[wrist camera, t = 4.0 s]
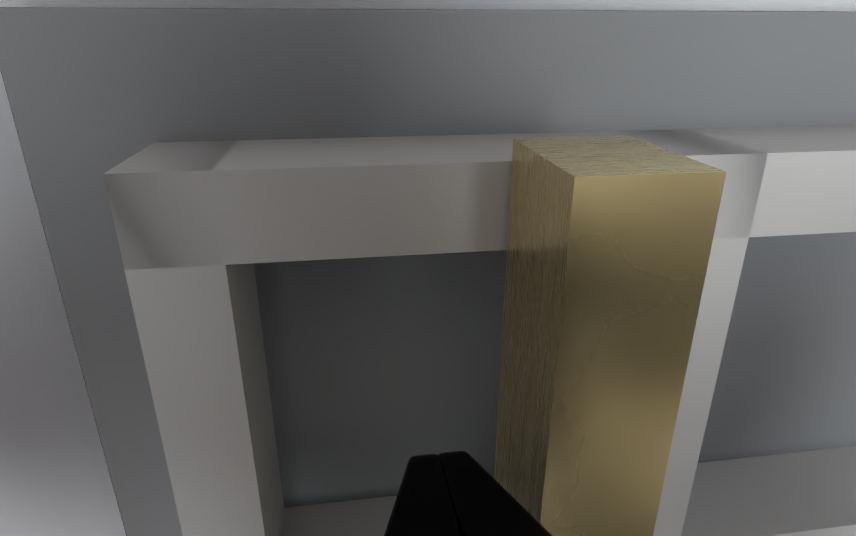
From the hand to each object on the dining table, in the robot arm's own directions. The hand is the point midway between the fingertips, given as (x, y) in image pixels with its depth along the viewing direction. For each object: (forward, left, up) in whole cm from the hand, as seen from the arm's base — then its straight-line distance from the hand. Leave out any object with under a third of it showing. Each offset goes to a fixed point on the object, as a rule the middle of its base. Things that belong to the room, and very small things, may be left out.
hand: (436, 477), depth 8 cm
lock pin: (0, -2, -1) cm, 2 cm away
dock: (0, -3, -4) cm, 5 cm away
